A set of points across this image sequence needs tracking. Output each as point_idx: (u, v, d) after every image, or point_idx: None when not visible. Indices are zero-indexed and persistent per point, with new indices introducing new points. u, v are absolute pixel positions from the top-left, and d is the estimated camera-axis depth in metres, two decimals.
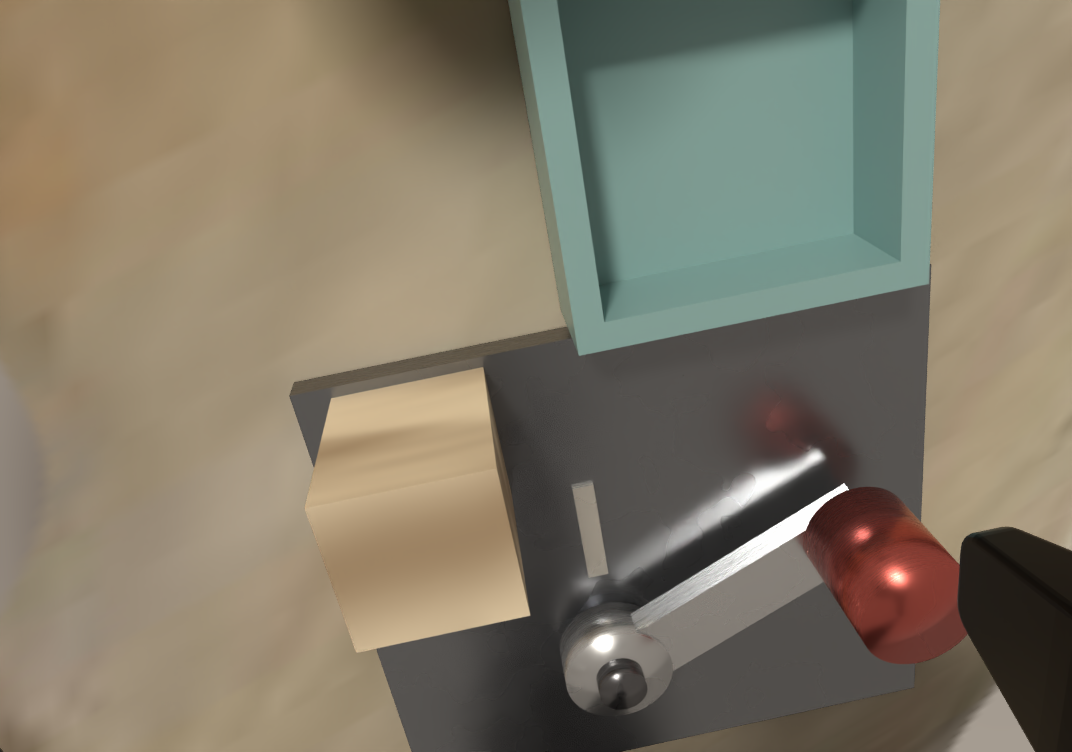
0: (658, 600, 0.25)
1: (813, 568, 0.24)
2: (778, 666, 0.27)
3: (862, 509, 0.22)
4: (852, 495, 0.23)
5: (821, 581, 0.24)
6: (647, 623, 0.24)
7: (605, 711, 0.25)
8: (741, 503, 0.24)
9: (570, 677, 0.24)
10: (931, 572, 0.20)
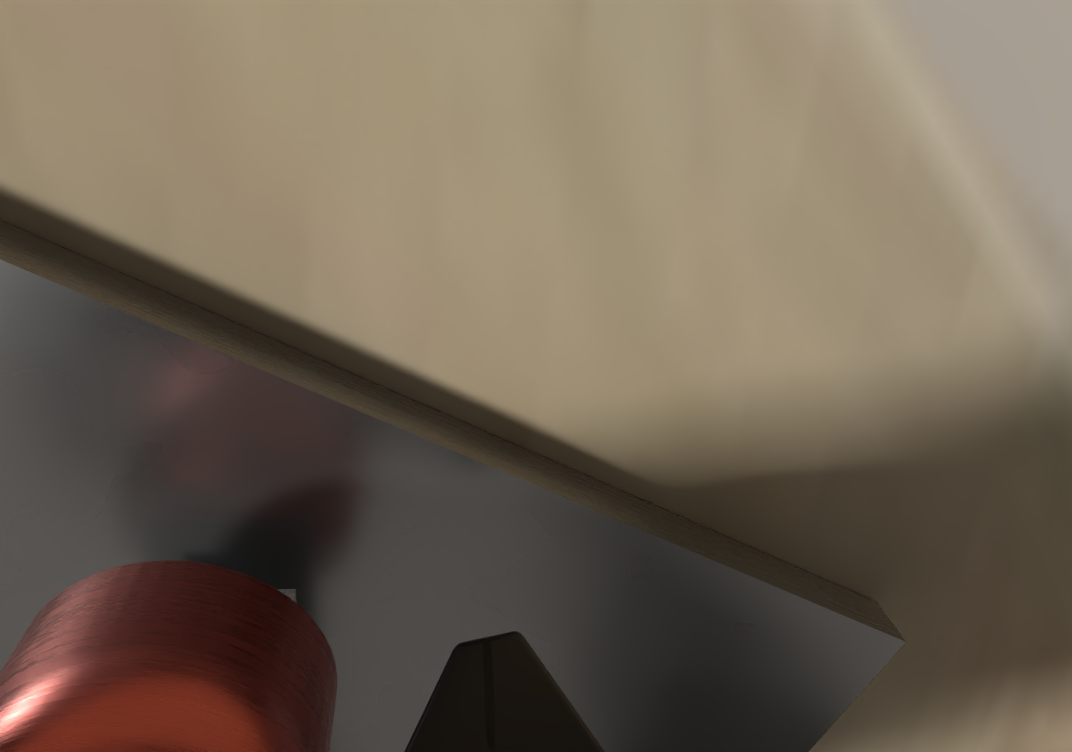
0: None
1: None
2: None
3: None
4: None
5: None
6: None
7: None
8: None
9: None
10: None
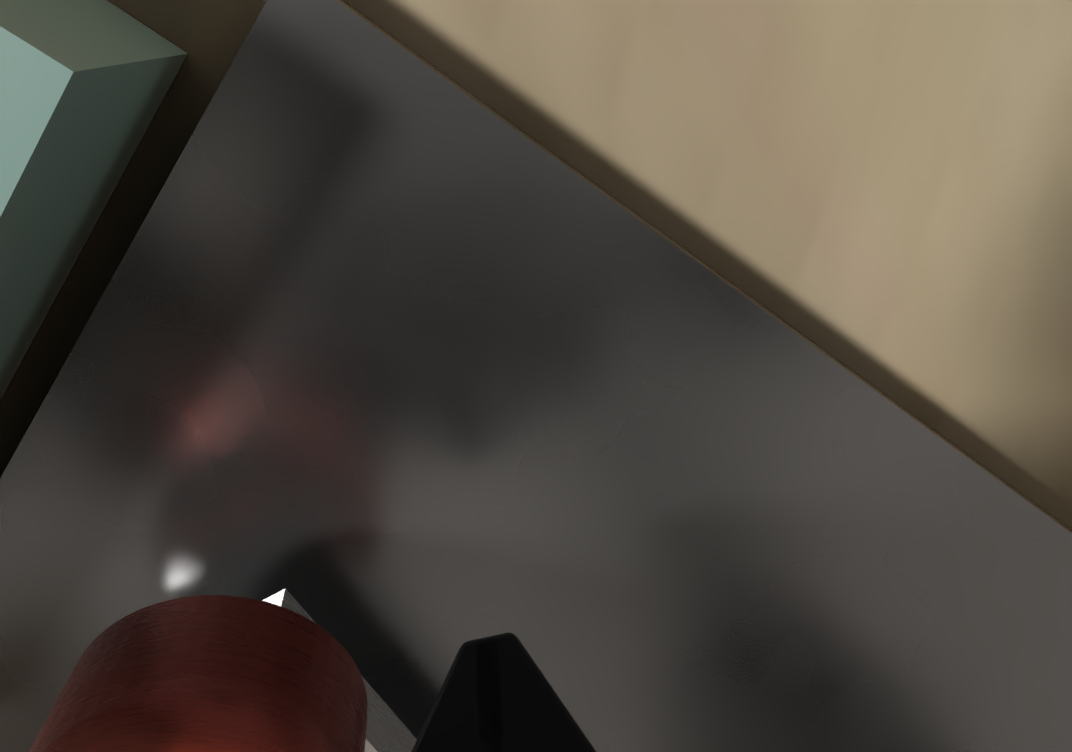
0: None
1: None
2: None
3: None
4: None
5: None
6: None
7: None
8: None
9: None
10: None
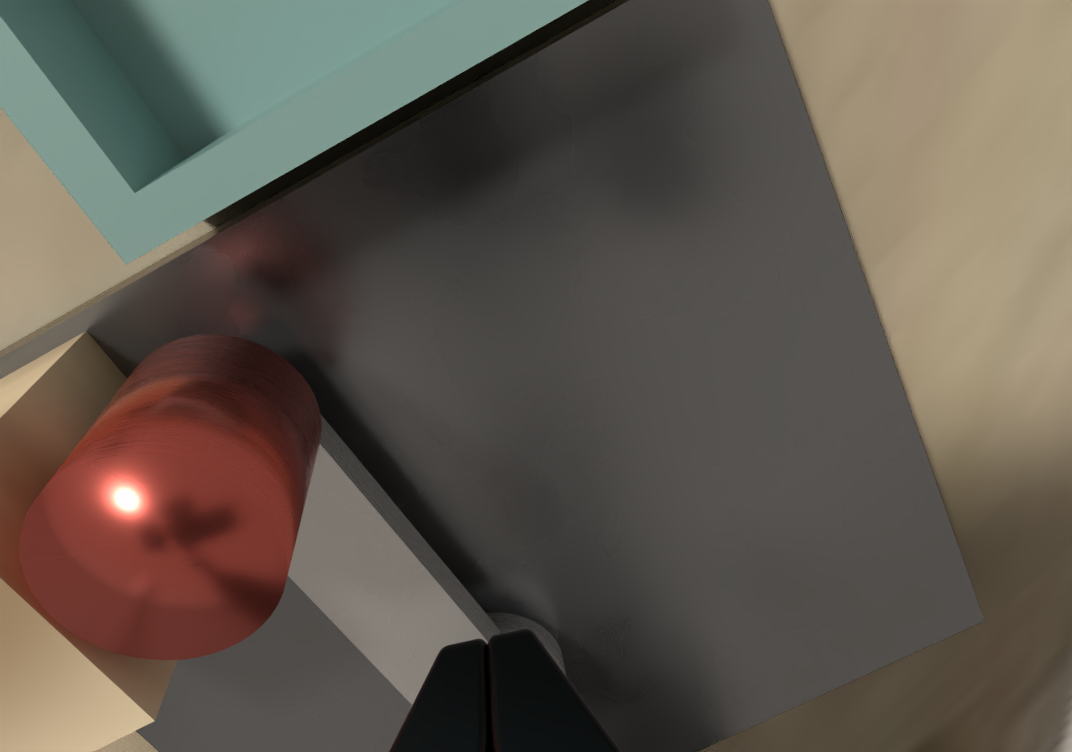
0: None
1: None
2: (759, 641, 0.18)
3: None
4: None
5: (334, 464, 0.14)
6: (401, 690, 0.16)
7: None
8: (595, 426, 0.16)
9: None
10: (34, 568, 0.10)
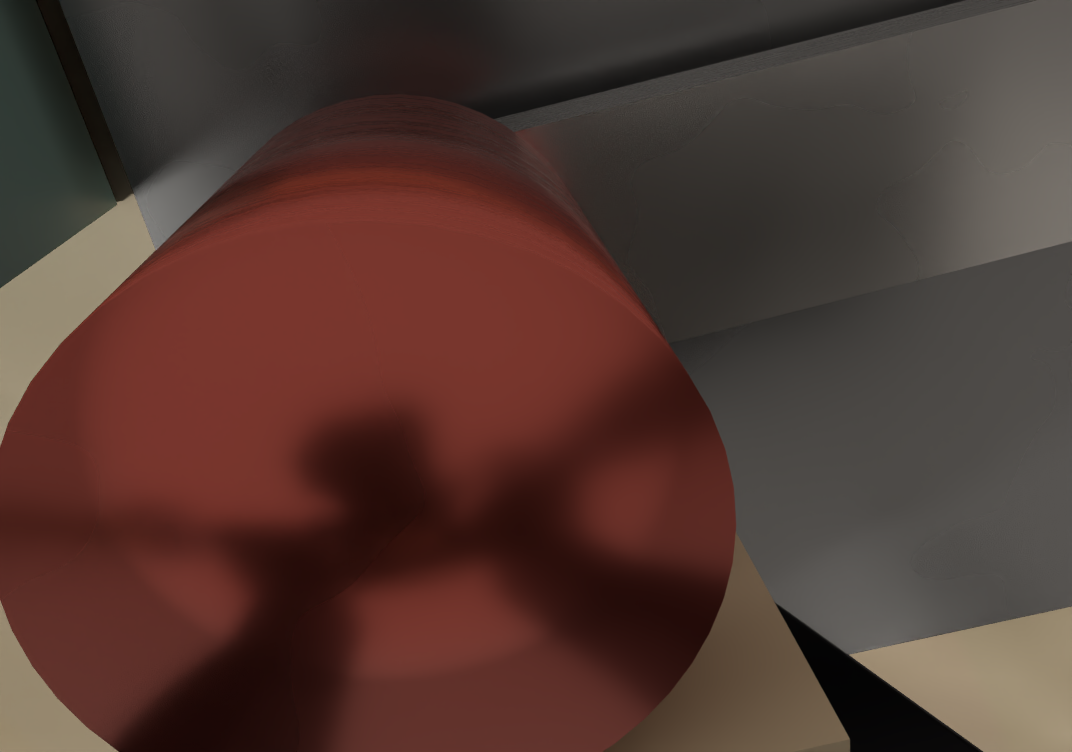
0: None
1: (587, 201, 0.06)
2: None
3: None
4: None
5: (575, 122, 0.06)
6: None
7: None
8: None
9: None
10: None
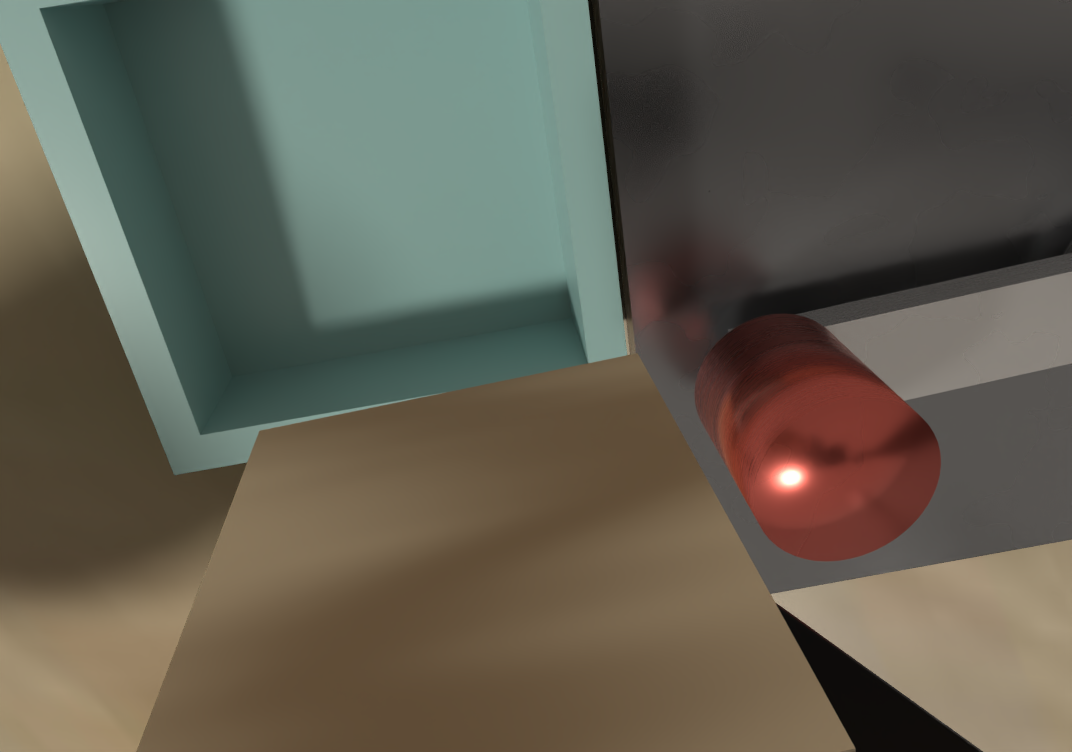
0: None
1: None
2: None
3: None
4: None
5: (847, 323, 0.16)
6: None
7: None
8: (945, 79, 0.15)
9: None
10: (805, 551, 0.14)
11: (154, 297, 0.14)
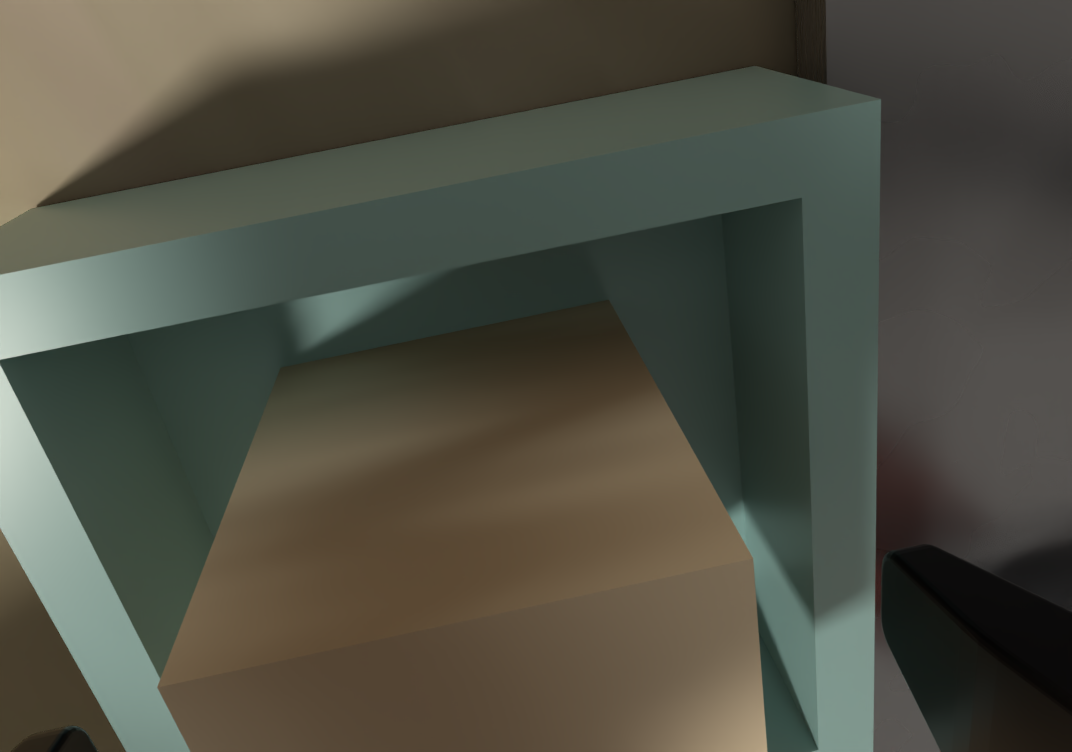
0: None
1: None
2: None
3: None
4: None
5: None
6: None
7: None
8: None
9: None
10: None
11: None
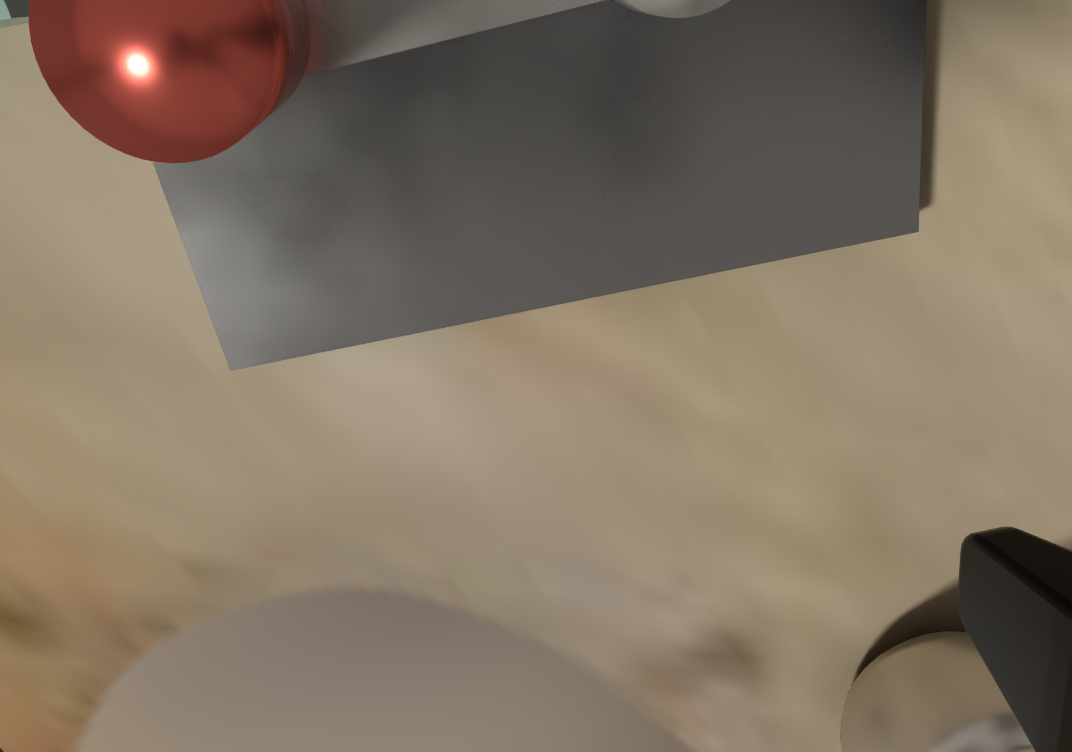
0: None
1: None
2: None
3: None
4: None
5: None
6: (598, 1, 0.14)
7: None
8: None
9: None
10: (137, 146, 0.11)
11: None
